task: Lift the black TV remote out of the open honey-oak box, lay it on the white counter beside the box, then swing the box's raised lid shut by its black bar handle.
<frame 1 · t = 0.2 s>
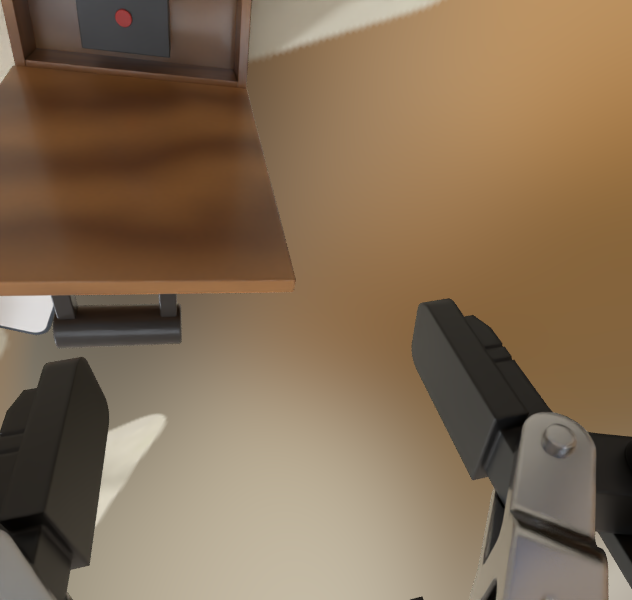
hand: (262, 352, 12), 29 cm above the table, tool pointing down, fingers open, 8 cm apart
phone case: (15, 247, 39), on the table
lid: (130, 197, 25), point 13 cm above the table, hinge at 95.0°
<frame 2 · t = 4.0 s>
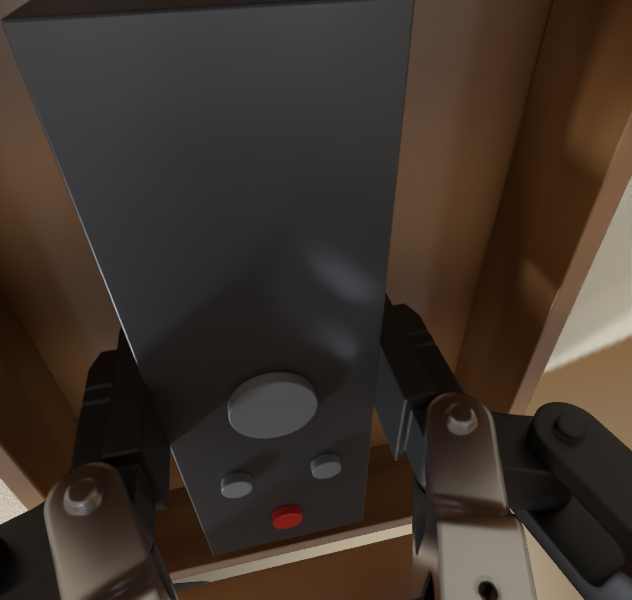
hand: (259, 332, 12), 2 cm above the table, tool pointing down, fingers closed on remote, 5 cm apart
remote: (254, 304, 13), point 1 cm above the table, touching chest, gripper
chest: (269, 288, 13), on the table
when the fingers open (1 cm above the table, at t = 10.0 s): remote stays where it is, on the table.
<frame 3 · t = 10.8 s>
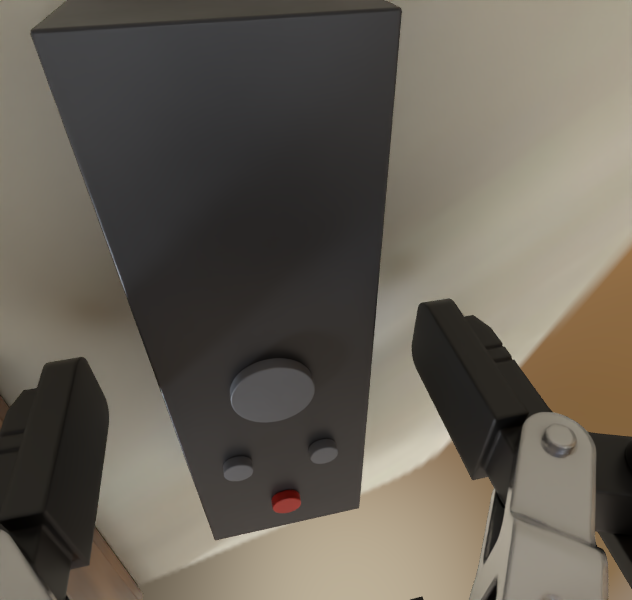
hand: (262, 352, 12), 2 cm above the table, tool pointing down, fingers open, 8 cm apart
remote: (255, 297, 14), on the table
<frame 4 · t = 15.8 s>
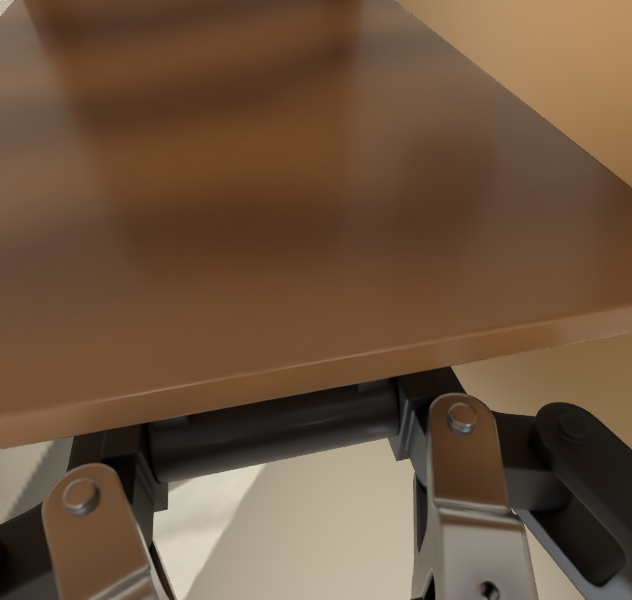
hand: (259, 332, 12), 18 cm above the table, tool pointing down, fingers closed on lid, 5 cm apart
lid: (232, 167, 14), point 13 cm above the table, hinge at 95.0°, touching gripper
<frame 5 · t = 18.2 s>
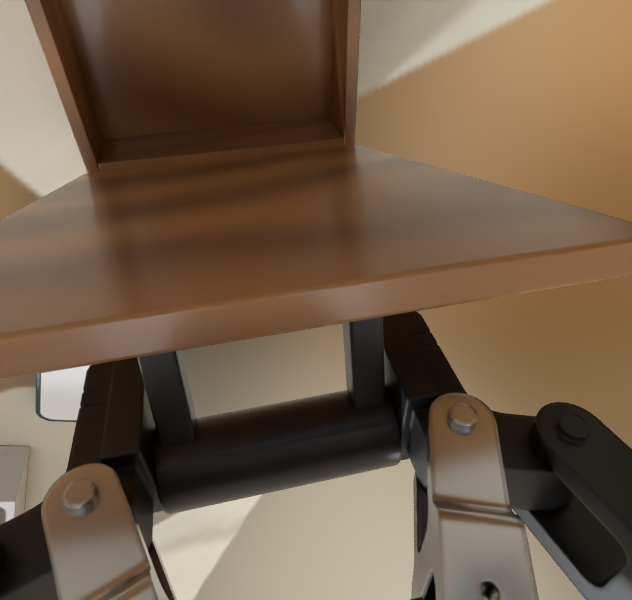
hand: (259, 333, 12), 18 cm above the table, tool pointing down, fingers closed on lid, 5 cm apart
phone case: (105, 343, 36), on the table
lid: (246, 264, 16), point 14 cm above the table, hinge at 71.2°, touching gripper
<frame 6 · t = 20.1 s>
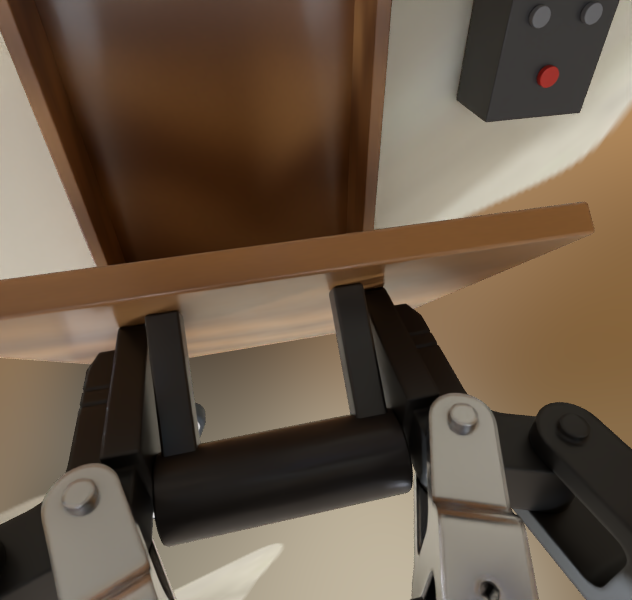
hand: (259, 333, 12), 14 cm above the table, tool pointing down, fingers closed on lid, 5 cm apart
lid: (264, 383, 17), point 12 cm above the table, hinge at 40.1°, touching gripper
chest: (227, 161, 24), on the table
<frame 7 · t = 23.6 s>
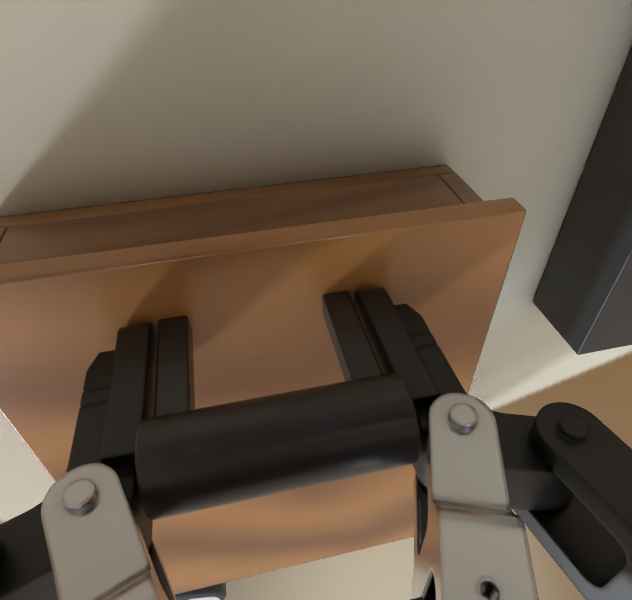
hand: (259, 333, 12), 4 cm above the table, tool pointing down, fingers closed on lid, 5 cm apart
lid: (287, 521, 15), point 6 cm above the table, hinge at 0.0°, touching gripper
chest: (262, 380, 20), on the table
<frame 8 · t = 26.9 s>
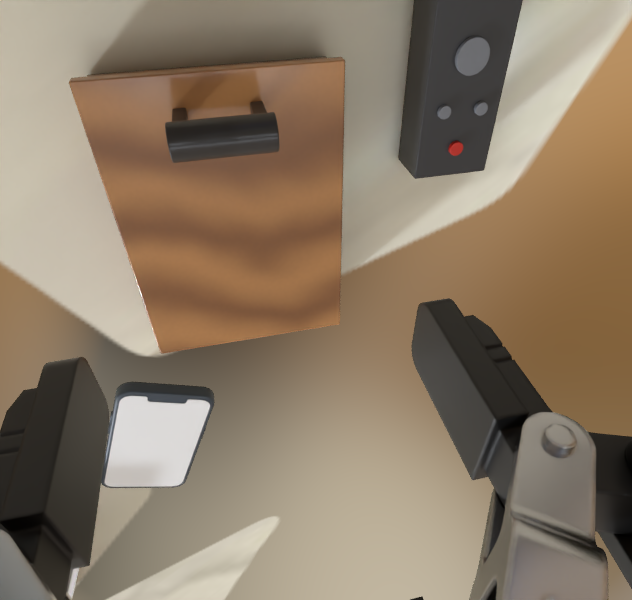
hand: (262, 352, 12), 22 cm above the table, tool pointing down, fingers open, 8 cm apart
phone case: (155, 431, 47), on the table
lid: (240, 249, 28), point 6 cm above the table, hinge at -0.1°
remote: (448, 39, 29), on the table
chest: (232, 205, 33), on the table
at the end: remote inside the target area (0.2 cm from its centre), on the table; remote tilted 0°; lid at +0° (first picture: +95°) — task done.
